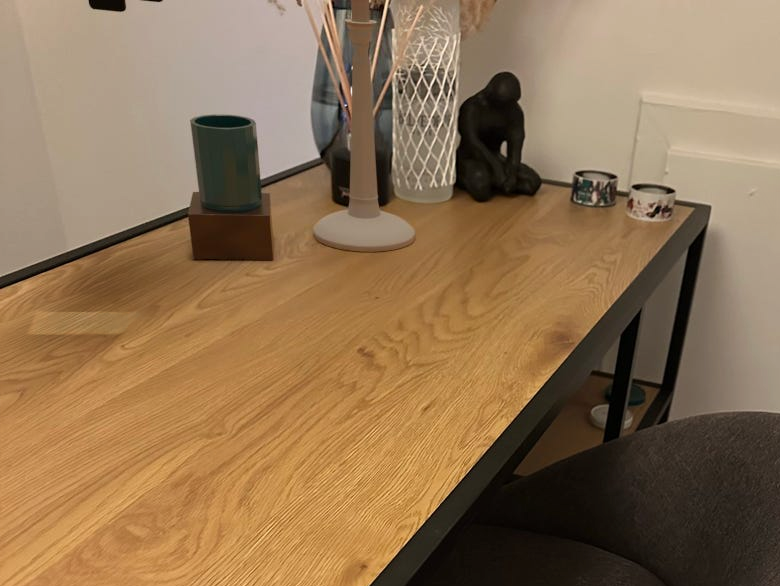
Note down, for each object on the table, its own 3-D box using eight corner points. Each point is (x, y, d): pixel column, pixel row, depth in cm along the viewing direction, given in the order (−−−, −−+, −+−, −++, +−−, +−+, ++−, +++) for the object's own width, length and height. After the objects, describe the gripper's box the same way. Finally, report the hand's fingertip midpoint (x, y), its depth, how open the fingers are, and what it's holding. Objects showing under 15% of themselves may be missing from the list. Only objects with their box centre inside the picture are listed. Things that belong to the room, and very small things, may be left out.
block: (193, 259, 108) (187, 214, 105) (198, 235, 115) (192, 191, 112) (273, 260, 109) (269, 215, 106) (273, 236, 116) (269, 193, 113)
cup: (192, 208, 106) (181, 125, 101) (211, 192, 112) (201, 112, 106) (252, 214, 106) (245, 131, 101) (268, 197, 112) (262, 117, 106)
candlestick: (349, 214, 125) (342, -67, 106) (433, 232, 121) (441, -55, 102) (292, 237, 116) (273, -64, 97) (380, 258, 112) (378, -52, 93)
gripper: (93, -235, 85) (124, -7, 95) (1, -260, 71) (49, 10, 82) (175, -227, 84) (196, 1, 95) (98, -250, 71) (133, 18, 82)
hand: (128, 5), depth 88 cm, fingers open, 9 cm apart
